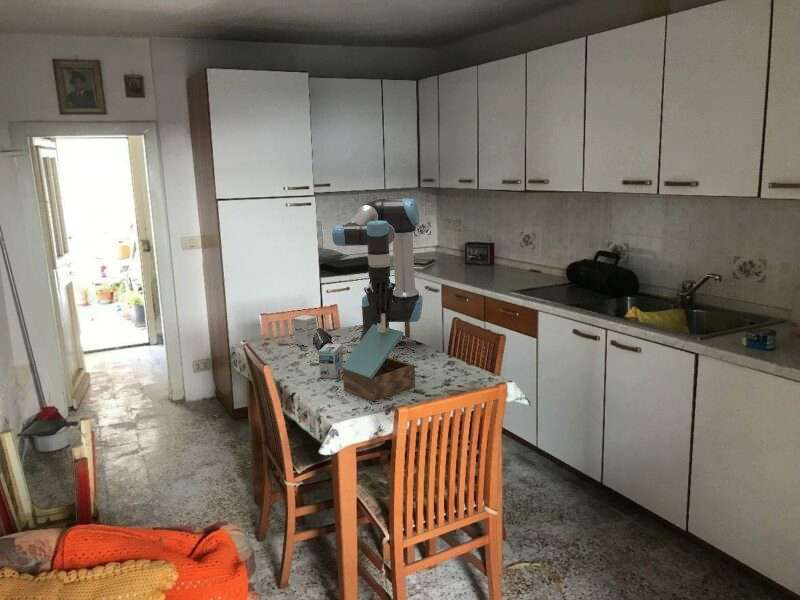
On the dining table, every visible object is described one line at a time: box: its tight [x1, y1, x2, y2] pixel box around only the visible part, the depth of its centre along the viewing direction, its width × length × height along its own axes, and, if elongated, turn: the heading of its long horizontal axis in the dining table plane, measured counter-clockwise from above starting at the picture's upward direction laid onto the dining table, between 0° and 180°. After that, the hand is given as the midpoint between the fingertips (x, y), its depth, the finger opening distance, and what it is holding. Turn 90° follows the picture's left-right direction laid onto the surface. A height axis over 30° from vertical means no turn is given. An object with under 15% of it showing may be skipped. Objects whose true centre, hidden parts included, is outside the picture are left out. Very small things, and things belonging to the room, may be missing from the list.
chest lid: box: [342, 324, 404, 379], centre depth 227 cm, size 20×16×2 cm
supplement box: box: [293, 314, 318, 347], centre depth 291 cm, size 7×7×13 cm
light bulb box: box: [318, 343, 344, 379], centre depth 249 cm, size 11×7×11 cm, turn 168°
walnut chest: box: [342, 357, 416, 402], centre depth 232 cm, size 20×16×8 cm
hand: (381, 331), depth 229 cm, fingers closed
